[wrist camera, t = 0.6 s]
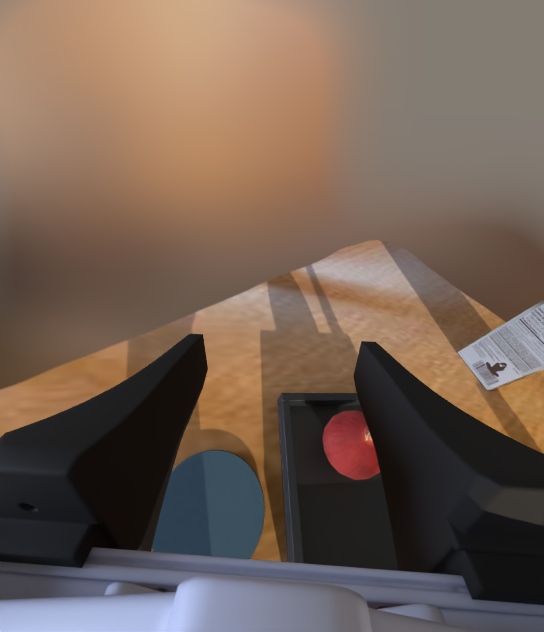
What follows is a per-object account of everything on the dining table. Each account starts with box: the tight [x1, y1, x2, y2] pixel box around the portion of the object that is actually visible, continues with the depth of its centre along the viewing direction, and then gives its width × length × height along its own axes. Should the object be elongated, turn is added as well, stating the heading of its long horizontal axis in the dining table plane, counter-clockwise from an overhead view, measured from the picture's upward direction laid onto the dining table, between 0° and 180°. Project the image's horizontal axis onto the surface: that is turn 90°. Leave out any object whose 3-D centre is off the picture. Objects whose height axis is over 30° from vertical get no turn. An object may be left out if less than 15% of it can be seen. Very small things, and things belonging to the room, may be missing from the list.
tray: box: [278, 393, 398, 571], centre depth 25 cm, size 17×13×2 cm
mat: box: [152, 450, 265, 559], centre depth 23 cm, size 10×10×1 cm
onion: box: [323, 410, 380, 480], centre depth 24 cm, size 6×6×8 cm
